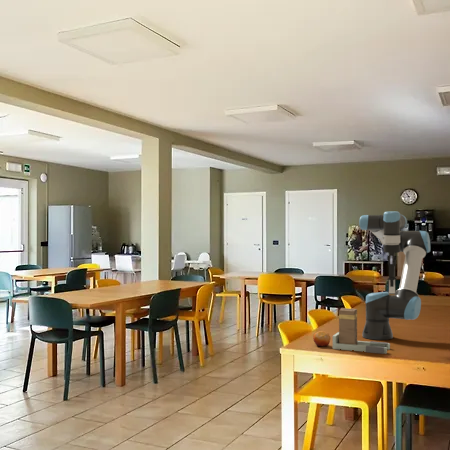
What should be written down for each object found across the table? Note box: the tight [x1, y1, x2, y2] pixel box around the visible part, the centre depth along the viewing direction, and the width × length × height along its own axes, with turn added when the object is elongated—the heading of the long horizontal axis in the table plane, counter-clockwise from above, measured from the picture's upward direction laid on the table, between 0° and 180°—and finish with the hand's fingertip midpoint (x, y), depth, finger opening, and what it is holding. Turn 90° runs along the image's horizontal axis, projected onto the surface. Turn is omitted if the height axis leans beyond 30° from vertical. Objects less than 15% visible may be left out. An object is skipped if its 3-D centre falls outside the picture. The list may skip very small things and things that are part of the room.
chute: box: [332, 331, 391, 355], centre depth 258 cm, size 13×24×6 cm, turn 65°
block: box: [338, 308, 358, 345], centre depth 261 cm, size 7×7×18 cm
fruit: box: [313, 330, 331, 347], centre depth 265 cm, size 8×8×8 cm
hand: (392, 292), depth 263 cm, fingers closed
